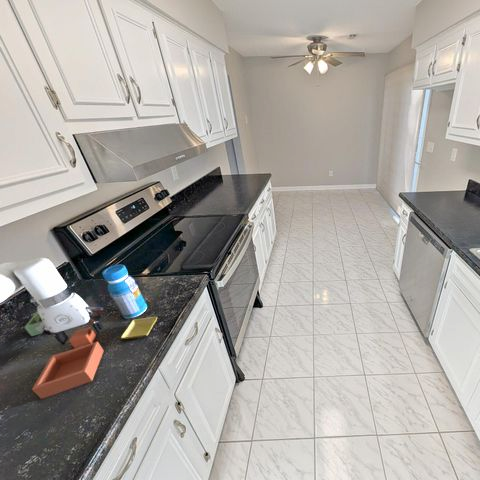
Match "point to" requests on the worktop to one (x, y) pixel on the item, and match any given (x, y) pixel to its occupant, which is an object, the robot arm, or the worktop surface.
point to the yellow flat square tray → (139, 328)
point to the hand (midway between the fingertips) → (83, 335)
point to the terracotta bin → (69, 370)
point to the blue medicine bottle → (124, 291)
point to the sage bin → (34, 324)
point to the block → (82, 337)
